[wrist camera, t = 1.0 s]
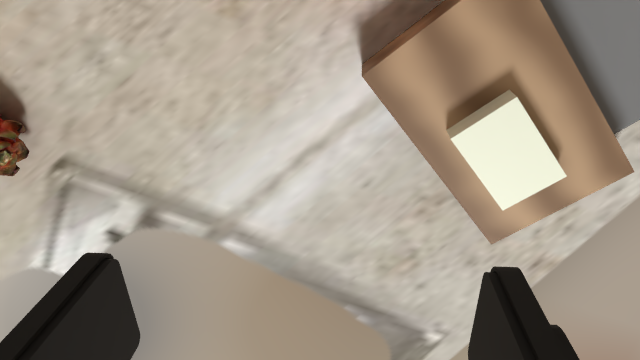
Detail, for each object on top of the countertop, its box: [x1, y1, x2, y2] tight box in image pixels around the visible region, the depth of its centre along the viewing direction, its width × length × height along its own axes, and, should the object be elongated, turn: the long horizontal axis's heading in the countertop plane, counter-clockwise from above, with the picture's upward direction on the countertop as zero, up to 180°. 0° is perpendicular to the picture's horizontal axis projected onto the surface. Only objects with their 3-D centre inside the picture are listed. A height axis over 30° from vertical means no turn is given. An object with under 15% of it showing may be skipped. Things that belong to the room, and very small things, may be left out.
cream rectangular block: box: [447, 90, 567, 211], centre depth 37 cm, size 6×9×2 cm, turn 40°
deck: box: [362, 0, 634, 244], centre depth 38 cm, size 14×22×4 cm, turn 40°
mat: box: [540, 0, 640, 134], centre depth 36 cm, size 9×16×1 cm, turn 40°
